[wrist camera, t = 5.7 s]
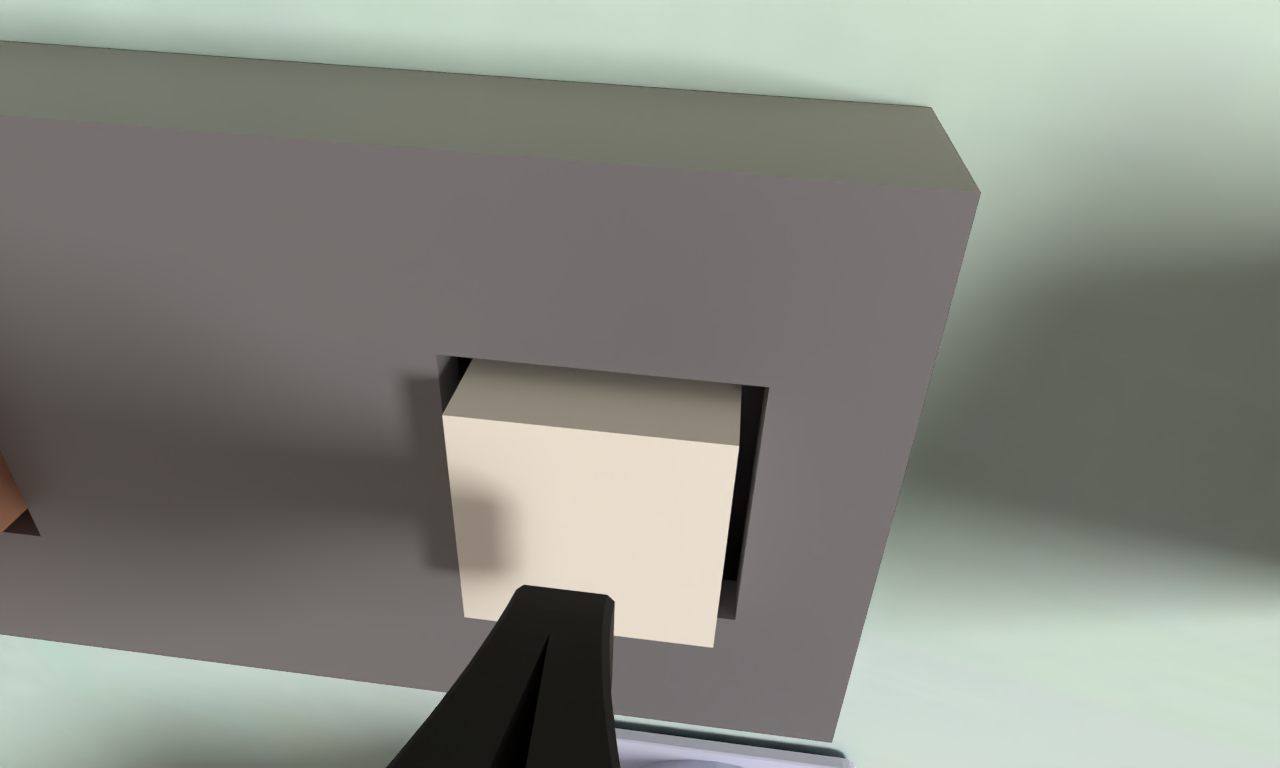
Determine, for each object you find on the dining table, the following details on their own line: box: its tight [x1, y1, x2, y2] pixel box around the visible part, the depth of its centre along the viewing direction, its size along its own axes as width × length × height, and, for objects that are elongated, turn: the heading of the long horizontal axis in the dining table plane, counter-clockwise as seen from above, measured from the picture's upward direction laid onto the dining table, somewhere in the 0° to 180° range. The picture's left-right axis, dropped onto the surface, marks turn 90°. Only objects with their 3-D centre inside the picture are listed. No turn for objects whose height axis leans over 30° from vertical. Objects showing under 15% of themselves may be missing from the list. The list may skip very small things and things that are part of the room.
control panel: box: [0, 41, 981, 743], centre depth 17 cm, size 12×24×4 cm, turn 88°
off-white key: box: [442, 358, 742, 648], centre depth 15 cm, size 4×4×3 cm
